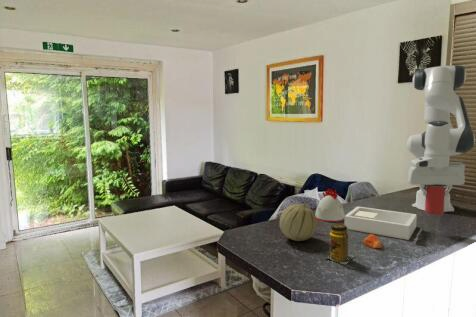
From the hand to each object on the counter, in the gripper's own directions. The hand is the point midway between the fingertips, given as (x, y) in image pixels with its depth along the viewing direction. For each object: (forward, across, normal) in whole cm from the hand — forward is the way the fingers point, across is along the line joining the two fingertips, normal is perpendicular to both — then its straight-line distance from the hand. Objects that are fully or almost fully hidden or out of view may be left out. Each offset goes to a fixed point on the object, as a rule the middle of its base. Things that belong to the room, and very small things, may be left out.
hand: (434, 195), depth 134 cm
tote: (+16, +20, -2) cm, 26 cm away
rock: (+17, +27, +16) cm, 36 cm away
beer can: (+8, 0, 0) cm, 8 cm away
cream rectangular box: (+15, +26, -5) cm, 30 cm away
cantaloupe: (+16, +55, +13) cm, 59 cm away
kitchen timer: (+16, +40, -15) cm, 46 cm away
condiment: (+16, +40, +29) cm, 52 cm away
